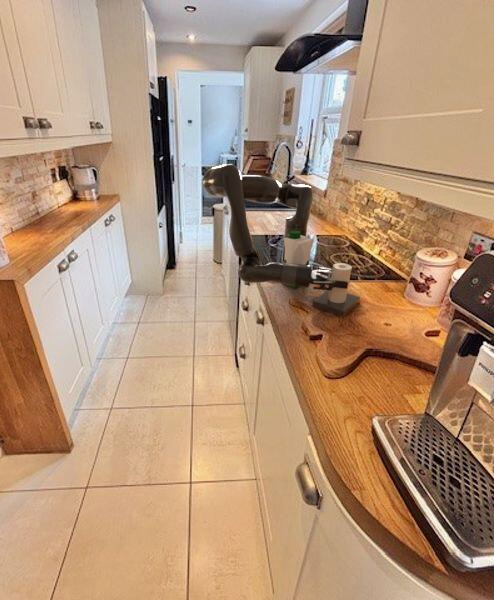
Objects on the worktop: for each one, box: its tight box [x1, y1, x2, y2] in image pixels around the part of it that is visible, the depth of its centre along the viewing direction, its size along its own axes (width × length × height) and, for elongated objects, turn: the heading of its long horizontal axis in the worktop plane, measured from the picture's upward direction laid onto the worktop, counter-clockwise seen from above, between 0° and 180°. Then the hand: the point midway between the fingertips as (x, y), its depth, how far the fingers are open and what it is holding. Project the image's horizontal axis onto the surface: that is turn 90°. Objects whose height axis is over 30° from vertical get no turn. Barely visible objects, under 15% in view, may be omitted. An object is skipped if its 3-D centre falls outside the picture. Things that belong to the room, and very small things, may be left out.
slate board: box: [311, 290, 361, 318], centre depth 111 cm, size 13×11×2 cm
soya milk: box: [283, 230, 315, 289], centre depth 122 cm, size 9×9×20 cm
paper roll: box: [328, 262, 353, 303], centre depth 108 cm, size 6×6×12 cm
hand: (347, 281), depth 107 cm, fingers closed on paper roll, 5 cm apart
